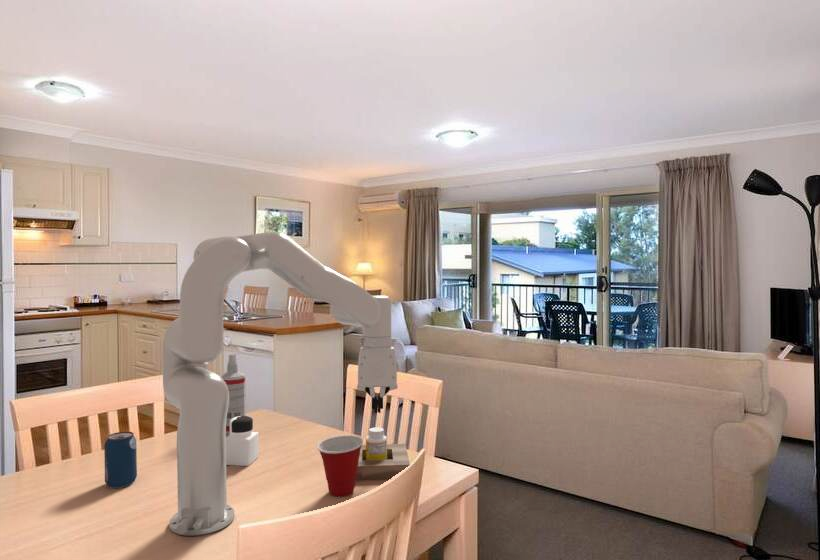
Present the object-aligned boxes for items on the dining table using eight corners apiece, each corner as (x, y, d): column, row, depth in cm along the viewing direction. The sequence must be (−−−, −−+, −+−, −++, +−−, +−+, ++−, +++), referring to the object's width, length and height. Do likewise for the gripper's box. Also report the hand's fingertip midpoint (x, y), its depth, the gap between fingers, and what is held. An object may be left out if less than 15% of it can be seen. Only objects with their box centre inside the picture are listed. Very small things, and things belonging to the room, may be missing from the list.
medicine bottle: (259, 456, 149) (258, 414, 149) (248, 466, 142) (248, 421, 142) (234, 456, 150) (234, 413, 150) (223, 465, 143) (222, 421, 143)
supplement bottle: (371, 462, 145) (371, 425, 144) (390, 465, 143) (390, 427, 143) (362, 470, 139) (362, 431, 139) (382, 472, 138) (381, 433, 137)
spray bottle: (242, 433, 170) (242, 355, 169) (218, 435, 169) (217, 356, 168) (247, 426, 178) (246, 351, 177) (223, 427, 177) (223, 352, 176)
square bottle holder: (410, 478, 134) (409, 464, 134) (345, 480, 133) (345, 466, 133) (405, 455, 150) (405, 443, 150) (348, 457, 149) (347, 445, 148)
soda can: (143, 479, 133) (142, 432, 133) (121, 490, 127) (120, 440, 126) (120, 476, 135) (120, 429, 135) (98, 487, 129) (97, 438, 128)
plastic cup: (313, 486, 129) (313, 437, 129) (356, 480, 133) (356, 432, 133) (322, 505, 119) (321, 451, 119) (368, 497, 123) (368, 445, 122)
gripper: (348, 345, 136) (348, 416, 137) (406, 344, 137) (406, 414, 138) (349, 340, 144) (349, 408, 144) (404, 340, 145) (404, 407, 145)
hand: (377, 411), depth 141 cm, fingers closed
